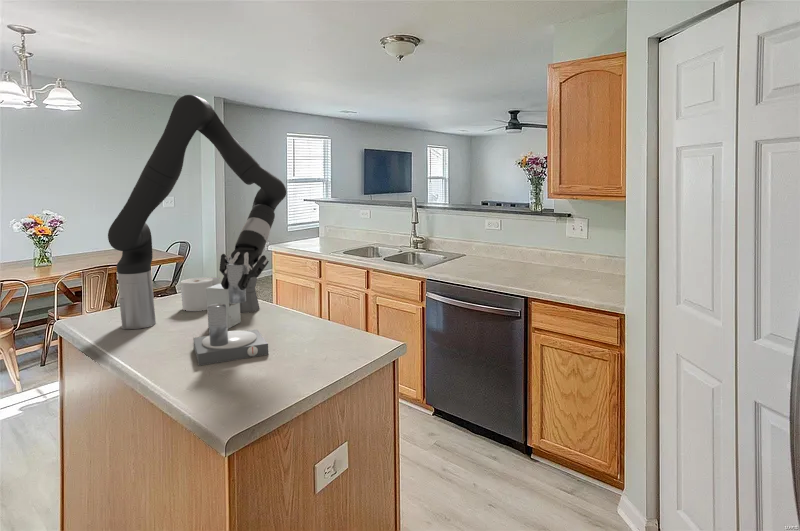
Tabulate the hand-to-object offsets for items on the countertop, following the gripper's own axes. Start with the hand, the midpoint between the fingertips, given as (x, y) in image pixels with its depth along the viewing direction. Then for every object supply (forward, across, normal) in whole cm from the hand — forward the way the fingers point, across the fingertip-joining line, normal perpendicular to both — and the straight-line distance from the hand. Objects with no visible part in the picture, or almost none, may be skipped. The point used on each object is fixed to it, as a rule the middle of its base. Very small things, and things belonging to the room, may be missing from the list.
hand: (232, 287), depth 130 cm
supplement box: (-1, -16, +25) cm, 30 cm away
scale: (+14, 0, +10) cm, 17 cm away
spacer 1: (+14, -1, +5) cm, 15 cm away
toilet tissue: (-14, -37, +38) cm, 54 cm away
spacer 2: (+2, 0, +4) cm, 5 cm away
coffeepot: (-14, -20, +39) cm, 46 cm away
